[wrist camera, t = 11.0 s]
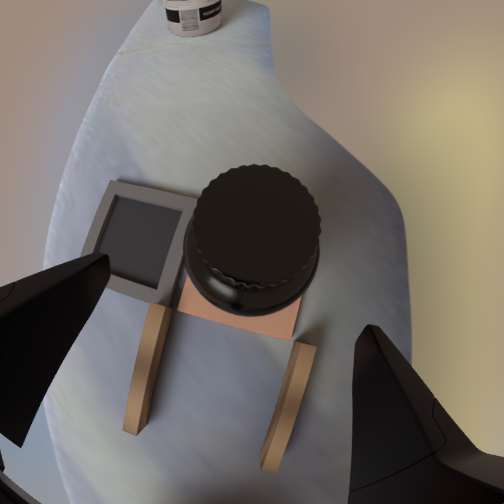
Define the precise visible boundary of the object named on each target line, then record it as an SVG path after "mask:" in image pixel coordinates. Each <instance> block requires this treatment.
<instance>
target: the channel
mask: <svg viewBox="0 0 504 504" xmlns="http://www.w3.org/2000/svg"><path fill="white" fill-rule="evenodd" d="M173 309H174V308H171V307H167V306H164V305H161V304H158V303H153V302H151V303H150V306H149V310H148V314H147V317H146V321H145V325H144V329H143V333H142V337H141V341H140V345H139V349H138V353H137V358H136V362H135V367H134V371H133V376H132V381H131V386H130V391H129V396H128V401H127V407H126V412H125V418H124V424H123V431H125V432H128V433H130V434H132V435H135V436H137V435H138V434H139V433H140V432H141V431H142V429H143V428H144V427H145V426H146V422H147V417H148V412H149V407H150V403H151V398H152V393H153V389H154V384H155V380H156V375H157V371H158V367H159V363H160V359H161V355H162V350H163V346H164V343H165V339H166V335H167V331H168V327H169V323H170V320H171V316H172V312H173ZM316 348H317V346H314V345H311V344H307V343H303V342H298V341H294V344H293V348H292V352H291V356H290V359H289V363H288V367H287V370H286V374H285V377H284V381H283V384H282V388H281V391H280V395H279V398H278V401H277V404H276V408H275V411H274V414H273V417H272V420H271V424H270V427H269V430H268V433H267V436H266V439H265V442H264V445H263V448H262V451H261V453H260V456H259V459H260V465H261V471H266V472H274V473H276V472H277V470H278V467H279V465H280V462H281V459H282V457H283V454H284V451H285V448H286V446H287V443H288V440H289V437H290V434H291V432H292V429H293V426H294V423H295V420H296V417H297V414H298V410H299V407H300V404H301V401H302V398H303V394H304V391H305V388H306V384H307V381H308V377H309V374H310V370H311V367H312V363H313V359H314V356H315V352H316Z"/></svg>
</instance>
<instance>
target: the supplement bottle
mask: <svg viewBox="0 0 504 504" xmlns="http://www.w3.org/2000/svg"><path fill="white" fill-rule="evenodd" d="M320 222H321V218H320V216H319V214H318V207H317V205H316V204H315V203H314V198H313V196H312V195H311V194H309V192H308V190H307V188H306V187H305V186H303V185H302V184H301V183H300V181H299V180H298V179H296V178H294V177H292V176H291V175H290V174H289V173H288V172H283V171H281V170H280V169H279V168H276V167H269V166H268V165H261V166H259V165H256V164H252V165H249V166H245V165H242V166H240V167H238V168H232V169H230V170H228V171H227V172H226V173H221V174H220V175H219V176H218V177H217V178H216V179H214V180H212V181H211V182H210V183H209V185H208V187H206V188H205V189H203V191H202V195H201V196H200V197H199V198H198V199H197V206H196V208H195V209H194V211H193V215H192V216H191V218H190V220H189V222H188V225H187V228H186V231H185V235H184V240H183V258H184V263H185V267H186V270H187V273H188V276H189V278H190V280H191V282H192V283H193V285H194V286H195V288H196V289H197V290H198V292H199V293H200V294H201V295H202V296H203V297H204V298H205V299H206V300H207V301H208V302H209V303H211V304H212V305H214V306H215V307H217V308H219V309H220V310H222V311H225V312H227V313H230V314H234V315H237V316H243V317H244V316H245V317H259V316H266V315H270V314H273V313H276V312H278V311H281V310H283V309H284V308H286V307H288V306H290V305H291V304H292V303H294V302H295V301H296V300H297V299H299V298H300V297H301V296H302V295H303V293H304V292H305V291H306V290H307V288H308V287H309V285H310V284H311V282H312V280H313V278H314V276H315V273H316V270H317V267H318V263H319V256H320V245H319V235H320V233H321V228H320Z"/></svg>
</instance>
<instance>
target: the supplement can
mask: <svg viewBox="0 0 504 504" xmlns="http://www.w3.org/2000/svg"><path fill="white" fill-rule="evenodd" d="M163 1H164V7H165V12H166V18H167V23H168V28H169V31H170V32H171V33H173V34H175V35H177V36H181V37H195V36H201V35H205V34H207V33H210V32H212V31H214V30H215V29H216V28H217V27H218V26H220V24H221V22H222V11H221V0H163Z"/></svg>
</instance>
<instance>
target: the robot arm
mask: <svg viewBox="0 0 504 504" xmlns="http://www.w3.org/2000/svg"><path fill="white" fill-rule="evenodd" d="M110 277H111V269H110V258H109V255H108V254H106V253H103V252H100V251H97V252H94V253H91V254H88V255H85V256H83V257H80V258H77V259H74V260H71V261H68V262H65V263H63V264H60V265H57V266H54V267H52V268H49V269H46V270H44V271H41V272H38V273H36V274H33V275H30V276H28V277H25V278H23V279H20V280H18V281H16V282H12V283H10V284H7V285H5V286H3V287H0V433H1V434H2V435H4V436H5V437H6V438H7V439H9V440H10V441H11V442H13V443H14V444H16V445H17V446H19V447H20V448H21V447H22V445H23V443H24V441H25V438H26V436H27V433H28V431H29V429H30V426H31V424H32V422H33V420H34V417H35V415H36V413H37V411H38V409H39V407H40V404H41V402H42V400H43V398H44V396H45V394H46V392H47V390H48V388H49V386H50V384H51V383H52V381H53V379H54V377H55V375H56V373H57V371H58V369H59V368H60V366H61V364H62V362H63V360H64V359H65V357H66V355H67V353H68V352H69V350H70V348H71V347H72V345H73V343H74V341H75V340H76V338H77V336H78V335H79V333H80V332H81V330H82V328H83V327H84V325H85V323H86V322H87V320H88V319H89V317H90V315H91V314H92V312H93V310H94V308H95V307H96V305H97V303H98V301H99V299H100V297H101V295H102V293H103V291H104V289H105V287H106V286H107V284H108V282H109V280H110ZM352 407H353V420H352V457H351V474H350V486H349V496H348V504H504V457H500V456H496V455H491V454H487V453H485V452H482V451H481V450H479V449H478V448H476V446H475V445H474V444H473V443H472V442H471V441H470V439H469V438H468V437H467V436H466V435H465V434H464V432H463V431H462V430H461V429H460V428H459V427H458V425H457V424H456V423H455V422H454V421H453V419H452V418H451V417H450V416H449V415H448V413H447V412H446V411H445V409H444V408H443V407H442V406H441V404H440V403H439V402H438V400H437V399H436V398H434V395H433V393H432V392H431V391H430V389H429V388H428V387H427V386H426V384H425V383H424V382H423V380H422V379H421V378H420V376H419V375H418V374H417V373H416V371H415V370H414V369H413V368H412V366H411V365H410V364H409V363H408V361H407V360H406V359H405V358H404V356H403V355H402V354H401V353H400V351H399V350H398V349H397V348H396V346H395V345H394V344H393V343H392V341H391V340H390V339H389V338H388V337H387V335H386V334H385V333H384V332H383V331H382V329H381V328H380V327H379V326H376V325H371V324H368V325H367V326H366V327H365V328H364V330H363V331H362V333H361V334H360V336H359V337H358V339H357V340H356V343H355V351H354V367H353V380H352ZM4 469H5V467H4V463H3V459H2V455H1V451H0V504H41V503H40V502H38V501H37V500H36V499H34V498H33V497H32V496H30V495H29V494H28V493H26V492H25V491H24V490H23V489H21V488H20V487H19V486H18V485H17V484H15V483H14V482H13V481H12V480H11V479H9V478H8V477H7V476H6V475H5V474H4V473H3V471H4Z"/></svg>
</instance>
